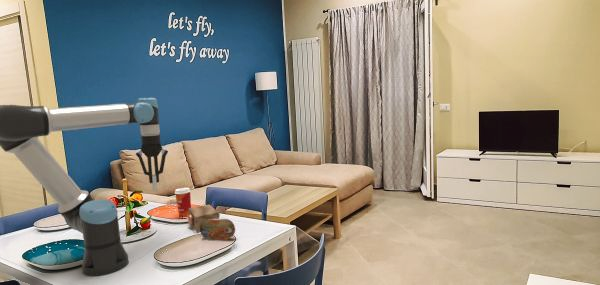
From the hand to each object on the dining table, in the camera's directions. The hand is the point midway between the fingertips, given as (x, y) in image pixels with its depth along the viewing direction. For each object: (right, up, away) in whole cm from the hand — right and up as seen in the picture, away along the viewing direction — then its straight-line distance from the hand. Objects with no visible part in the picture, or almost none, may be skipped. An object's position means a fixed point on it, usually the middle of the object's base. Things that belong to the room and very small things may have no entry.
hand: (154, 190), depth 174 cm
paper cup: (+5, -17, +27) cm, 32 cm away
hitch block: (+18, -17, +13) cm, 28 cm away
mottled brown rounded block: (+28, -19, -6) cm, 35 cm away
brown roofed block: (+18, -16, +12) cm, 27 cm away
